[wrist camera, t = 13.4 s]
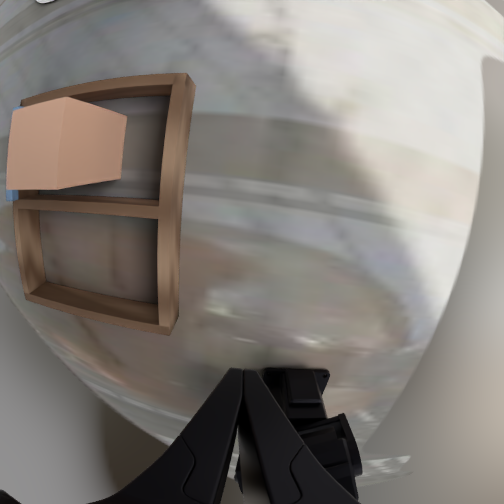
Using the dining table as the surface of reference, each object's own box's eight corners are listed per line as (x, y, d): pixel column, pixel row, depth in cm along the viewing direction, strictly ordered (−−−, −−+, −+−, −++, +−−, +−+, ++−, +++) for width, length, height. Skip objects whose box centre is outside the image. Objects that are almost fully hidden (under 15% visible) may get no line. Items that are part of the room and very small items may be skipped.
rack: (178, 315, 22) (167, 341, 18) (41, 287, 22) (20, 302, 18) (196, 86, 17) (183, 69, 13) (40, 103, 16) (14, 99, 12)
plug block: (120, 178, 19) (56, 189, 11) (72, 178, 18) (6, 189, 11) (127, 116, 17) (66, 96, 10) (78, 120, 17) (13, 110, 9)
